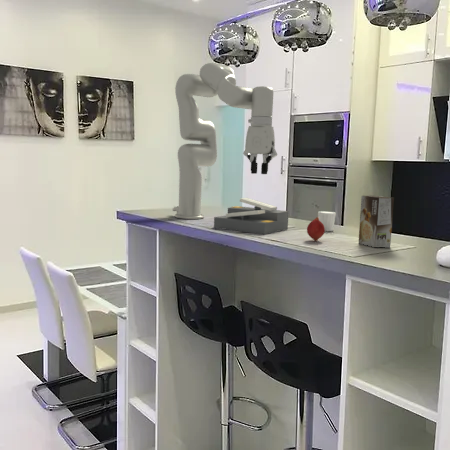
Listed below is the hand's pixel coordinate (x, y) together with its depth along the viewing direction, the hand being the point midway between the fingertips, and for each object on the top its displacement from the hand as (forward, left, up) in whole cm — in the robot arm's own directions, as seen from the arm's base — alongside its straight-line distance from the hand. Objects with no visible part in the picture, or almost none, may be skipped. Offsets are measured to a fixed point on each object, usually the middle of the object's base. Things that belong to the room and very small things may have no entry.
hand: (259, 173), depth 184 cm
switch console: (-5, +4, -21) cm, 22 cm away
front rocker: (-5, 0, -16) cm, 17 cm away
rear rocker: (-5, +9, -13) cm, 16 cm away
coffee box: (+43, +2, -21) cm, 48 cm away
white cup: (+17, +24, -21) cm, 37 cm away
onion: (+25, -4, -21) cm, 33 cm away
